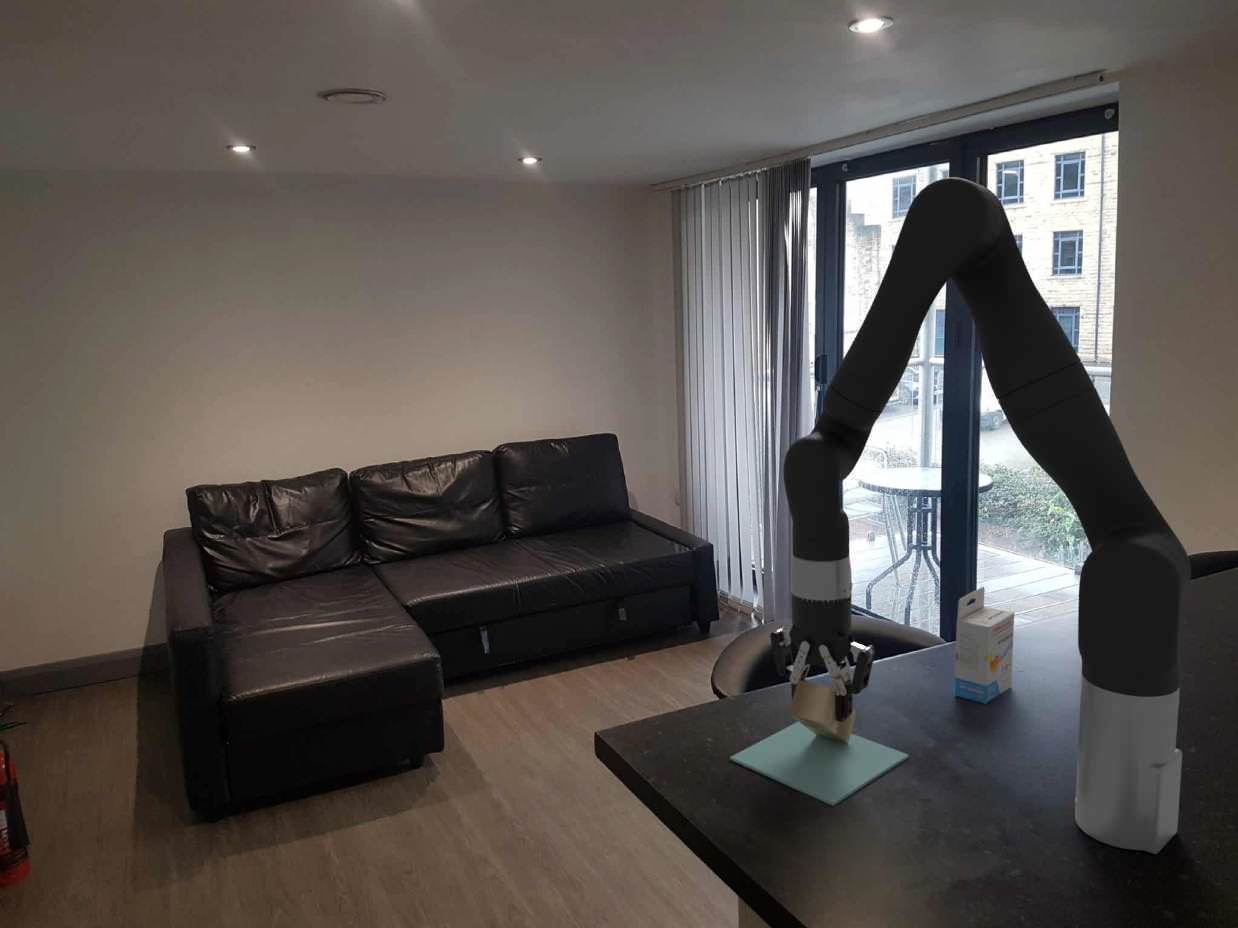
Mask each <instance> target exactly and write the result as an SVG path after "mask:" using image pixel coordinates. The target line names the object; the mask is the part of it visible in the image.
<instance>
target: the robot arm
mask: <svg viewBox="0 0 1238 928" xmlns="http://www.w3.org/2000/svg"><path fill="white" fill-rule="evenodd" d="M1008 218H1009V217H1008V215H1007V213H1006V210H1005V208H1004V205H1003V204H1002V202H1001V201H1000V200H999V198H998V196H997V195H996V194H994V192H993V191H992V190H990V189H989V188H987V187H985V186H984V185H981V184H979V183H977V182H974V181H972V180H968V179H965V178H962V177H956V176H955V177H943V178H940V179H936V180H935V181H932V182H931V183H929V184H927V185H926V186H925V187H923V188H922V189H921V190H920V191H919V192H918V193H917V194H916V196H915V197H914V198H913V200H912V201H911V203H910V206H909V208H908V211H907V212H906V215H905V218H904V220H903V223H902V226H901V229H900V230H899V234H898V237H897V240H896V242H895V244H894V245H895V246H894V248H893V252H892V254H891V257H890V260H889V262H888V265H887V267H886V270H885V272H884V275H883V277H882V280H881V282H880V285H879V287H878V288H877V291H876V293H875V296H874V299H873V301H872V302H871V305H870V307H869V310H868V311H867V313H866V316H865V318H864V320H863V322H862V324H861V326H860V328H859V330H858V332H857V333H856V336H855V337H854V339H853V340H852V342H851V345H850V346H849V348H848V350H847V352H846V353H845V355H844V357H843V359H842V360H841V363H840V364H839V366H838V368H837V370H836V371H835V373H834V375H833V376H832V379H831V380H830V383H829V384H828V386H827V388H826V390H825V393H824V395H823V399H822V406H823V409H822V411H821V413H820V416H819V418H818V420H817V422H816V423H815V426H814V427H813V429H812V431H811V432H809V434H808V435H805V436H803V437H801V438H799V439H797V440H795V441H794V442H793V443H792V444H791V445H790V447H789V448H788V450H787V451H786V455H785V456H784V464H783V483H784V489H785V494H786V500H787V504H788V508H789V513H790V517H791V521H792V529H791V530H792V532H791V533H792V535H791V536H792V537H791V539H792V540H791V541H792V556H791V557H792V560H791V566H790V614H791V616H790V617H791V618H790V620H791V623H792V625H791V627H790V629H787V628H786V627H784V626H781V627H779V628H777V629H776V630H774V631H772V632H771V633H770V635H769V637H770V643H771V647H772V653H773V657H774V662H775V666H776V667H775V668H776V671H777V674H778V675H779V676H780V677H786V678H787V679H788V680H789V682H790V684H791V700H792V699H793V696H794V693H795V689H796V686H797V683H798V680H801V681H805V682H808V679H806V677H807V675H808V673H809V670H810V667H811V666H819V667H821V668H823V669H827V672H828V675H829V677H830V679H831V680H833V682H834V685H835V688H836V691H837V695H836V720H837V721H839V722H844V721H845V720H846V719H847V718H848V717H849V716H850V715H851V714H852V707H853V695H858V694H860V693H861V692H862V691H863V690H864V689H866V688H867V687H868V685H869V681H870V676H871V674H872V673H871V672H872V668H873V664H874V659H875V654H876V648H875V647H874V645H872V644H869V645H867V646H865V645H863V644H859V643H858V642H855V639H854V637H853V634H852V631H851V629H852V609H853V607H852V606H853V605H852V597H853V596H852V595H853V594H852V591H853V582H852V580H853V579H852V566H851V559H850V522H849V521H850V520H849V516H848V514H847V513H846V511H844V509H842V508H841V499H840V483H841V482H843V481H844V480H846V479H847V478H848V477H849V475H850V474H851V473H852V472H853V470H854V468H856V466H857V463H858V462H859V460H860V458H861V456H862V455H863V452H864V450H865V447H866V445H867V443H868V440H869V438H870V435H871V434H872V429H873V427H874V425H875V423H876V421H878V419H879V418H880V416H881V414H882V413H883V410H884V409H885V408H886V407H887V405H888V403H889V401H890V399H891V397H892V396H893V394H894V392H895V391H896V389H897V388H898V385H899V383H900V382H901V380H902V378H903V376H904V373H905V371H906V369H907V367H908V365H909V362H910V360H911V356H912V354H913V352H914V348H915V346H916V343H917V340H918V336H919V334H920V330H921V327H922V325H923V323H924V321H925V319H926V316H927V314H928V312H929V311H930V308H931V307H932V305H933V304H934V301H935V299H936V298H937V296H938V295H939V293H940V292H941V290H942V289H943V287H944V286H945V284H946V283H947V282H948V281H949V279H951V281H952V282H953V284H954V286H955V288H956V290H958V292H959V295H960V296H961V298H962V299H963V300H964V303H965V304H966V306H967V308H968V311H969V313H970V316H971V317H972V320H973V324H974V326H975V330H976V335H977V339H978V344H979V349H980V351H981V355H982V356H981V358H982V361H983V364H984V365H983V366H984V369H985V372H986V376H987V379H988V382H989V384H990V387H991V390H992V392H993V395H994V396H995V399H996V400H997V402H998V404H999V406H1000V409H1001V410H1002V412H1003V414H1004V416H1005V418H1006V420H1007V422H1008V424H1009V425H1010V428H1011V429H1012V431H1013V433H1014V435H1015V436H1016V437H1017V439H1018V441H1019V442H1020V444H1021V445H1022V447H1023V448H1024V449H1025V450H1026V451H1027V453H1028V454H1029V455H1030V457H1031V458H1032V459H1033V460H1034V461H1035V462H1036V464H1038V466H1040V468H1041V469H1042V470H1043V471H1044V472H1045V473H1046V474H1047V475H1048V477H1050V478H1051V479H1052V480H1053V482H1054V483H1055V484H1056V486H1058V487H1059V488H1060V490H1061V491H1062V493H1063V494H1064V495H1065V496H1066V498H1067V500H1068V501H1069V503H1070V505H1071V506H1072V508H1073V510H1074V512H1075V513H1076V516H1077V519H1078V520H1079V522H1080V524H1081V526H1082V530H1083V531H1084V532H1083V533H1084V534H1085V537H1086V539H1087V542H1088V544H1089V547H1090V551H1091V552H1090V553H1089V554H1088V555H1087V557H1086V558H1085V560H1084V562H1083V564H1082V567H1081V570H1080V576H1079V584H1078V609H1077V610H1078V611H1077V612H1078V615H1077V616H1078V617H1077V645H1078V648H1077V649H1078V651H1079V655H1080V657H1081V679H1080V680H1081V681H1080V699H1079V700H1080V701H1079V721H1078V722H1079V723H1078V743H1077V744H1078V745H1077V761H1076V762H1077V763H1076V765H1077V767H1076V785H1075V786H1076V790H1075V800H1074V801H1075V802H1074V805H1075V811H1074V813H1075V814H1074V819H1075V823H1076V825H1077V826H1078V828H1079V829H1081V830H1082V832H1084V833H1085V834H1086V835H1087V836H1089V837H1091V838H1093V839H1095V840H1097V841H1098V842H1101V843H1104V844H1107V845H1109V846H1112V847H1117V848H1120V849H1125V850H1133V851H1134V850H1136V851H1144V852H1148V853H1151V854H1154V855H1157V854H1158V853H1159V852H1161V850H1162V849H1163V848H1164V847H1165V846H1166V845H1167V844H1168V843H1169V841H1170V840H1171V839H1172V838H1173V837H1174V836H1175V835H1176V834H1177V832H1178V825H1179V824H1178V823H1179V809H1180V808H1179V807H1180V794H1181V793H1180V790H1181V779H1182V766H1183V765H1182V763H1183V759H1182V758H1183V752H1182V750H1181V749H1178V748H1176V745H1177V734H1178V733H1177V732H1178V717H1179V715H1178V714H1179V704H1180V703H1179V702H1180V687H1181V676H1182V675H1181V674H1182V673H1181V672H1182V663H1181V661H1180V658H1179V654H1178V653H1179V652H1178V651H1179V650H1178V645H1179V644H1178V643H1179V627H1180V626H1179V625H1180V613H1181V612H1180V609H1181V601H1182V600H1181V599H1182V598H1183V597H1184V595H1185V592H1186V591H1187V590H1188V588H1189V585H1190V581H1191V578H1192V577H1191V575H1192V567H1191V562H1190V559H1189V556H1188V552H1187V551H1186V550H1185V547H1184V545H1183V544H1182V542H1181V541H1180V539H1179V538H1178V537H1177V535H1176V533H1175V532H1174V531H1173V529H1172V528H1171V526H1170V525H1169V523H1168V522H1167V520H1166V519H1165V518H1164V516H1163V515H1162V513H1161V511H1160V510H1159V509H1158V506H1156V504H1155V503H1154V501H1153V499H1152V498H1151V496H1150V495H1149V493H1148V492H1147V491H1146V489H1145V488H1144V486H1143V484H1142V483H1141V481H1140V479H1139V478H1138V476H1137V474H1136V472H1135V470H1134V468H1133V466H1132V463H1131V462H1130V460H1129V456H1128V454H1127V453H1126V450H1125V448H1124V446H1123V443H1122V441H1121V438H1120V437H1119V434H1118V431H1117V430H1116V428H1115V426H1114V424H1113V422H1112V420H1111V417H1110V416H1109V414H1108V411H1107V409H1106V408H1105V406H1104V403H1103V402H1102V398H1101V397H1100V395H1099V392H1098V390H1097V388H1096V387H1095V384H1094V383H1093V381H1092V379H1091V377H1090V375H1089V373H1088V371H1087V370H1086V367H1085V365H1084V363H1083V362H1082V359H1081V358H1080V356H1079V355H1078V353H1077V351H1076V349H1075V347H1074V346H1073V344H1072V343H1071V341H1070V339H1069V338H1068V335H1067V334H1066V333H1065V331H1064V329H1063V327H1062V326H1061V324H1060V322H1059V320H1058V319H1057V317H1056V316H1055V314H1054V312H1053V311H1052V310H1051V308H1050V306H1049V305H1048V303H1047V302H1046V300H1045V299H1044V298H1043V296H1042V295H1041V293H1040V291H1039V290H1038V288H1037V287H1036V285H1035V283H1034V280H1033V279H1032V277H1031V275H1030V272H1029V270H1028V268H1027V265H1026V262H1025V261H1024V257H1023V254H1022V253H1021V251H1020V250H1021V249H1020V247H1019V245H1018V243H1017V240H1016V238H1015V235H1014V233H1013V230H1012V229H1013V228H1012V227H1011V223H1010V222H1009V219H1008ZM791 644H793V646H794V647H795V649H796V650H797V655H796V658H795V660H794V659H793V654H792V649H791V646H790V645H791ZM850 652H851V653H852V655H853V662H854V663H855V668H854V672H853V676H852V674H851V665H850V662H849V659H848V654H849V653H850Z"/></svg>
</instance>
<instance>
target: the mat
mask: <svg viewBox="0 0 1238 928" xmlns="http://www.w3.org/2000/svg"><path fill="white" fill-rule="evenodd" d="M729 757H730V758H729V759H730V761H732V762H734V763H737V764H738V765H741V766H742V767H745V768H747V769H750V770H752V771H755V772H757V773H759V774H760V775H764V776H766V777H769V778H771V779H772V780H775V781H777V782H780V783H781V784H783V785H786V786H787V787H790V788H792V789H794V790H797V791H799V792H802V793H804V794H806V795H807V796H810V797H812V798H815V799H817V800H819V801H822V802H824V803H826V804H828V805H831V806H833V807H834V806H835V805H837V804H838V803H840V802H841V801H843V800H845V799H846V798H848V797H849V796H851V795H853V794H855V793H856V792H857V791H858V790H860V789H862V788H863V787H865V786H867V785H869V784H870V783H871V782H873V781H874V780H876V779H878V778H879V777H881V776H882V775H884V774H886V772H888V771H890V770H892V769H893V768H895V767H896V766H897V765H900V764H901V763H902V762H905V761H906V760H907V759H908V758H909V754H908V753H904V752H902V751H899V750H897V749H894V748H891V747H888V746H886V745H883V744H880V743H878V742H875V741H874V740H873V741H872V740H870V739H868V738H864V737H862V736H859V735H856V734H853V733H851V735H850V738H849V742H848V744H847V743H843V742H840V741H836V740H832V739H829V738H825V737H821V736H818V735H816V734H814V733H813V732H812V731H811V730H809V729H808V728H807V727H805V726H804V725H803V724H801V723H800V722H799V721H796V722H794V723H793V724H791V725H789V726H787V727H785V728H783V729H781V730H779V731H778V732H775V733H773V734H772V735H770V736H768V737H766V738H764V739H762V740H760V741H758V742H756V743H754V744H752V745H751V746H749V747H747V748H745V749H743V750H741V751H740V752H737V753H735V754H734V755H731V756H729Z"/></svg>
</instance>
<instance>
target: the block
mask: <svg viewBox="0 0 1238 928" xmlns="http://www.w3.org/2000/svg"><path fill="white" fill-rule="evenodd" d="M837 694H838V692H836V691H835V690H834V689H833V688H832V687H830V686H826V685H822V684H818V683H814V682H809V681H807V682H805V681H801V680H798V683H797V686H796V689H795V693H794V696H793V699H792V698H791V702H790V706H789V709H788V710H789V711H788V715H789V716H791V717H792V718H794V719H795V721H796V722H798V721H799V722H800V723H801V724H803V725H804V726H805V727H807V728H808V729H809V730H811V731H812V732H813V733H814V734H816V735H818V736H821V737H825V738H829V739H832V740H836V741H840V742H843V743H847V744H848V742H849V738H850V735H851V734H852V731H853V727H854V723H855V720H856V716H857V712H858V710H856V708H854V707H853V706H852V714H851V715H850V716H849V717H848V718H847V719H846V720H845V721H844V722H839V721H837V720H836V695H837Z"/></svg>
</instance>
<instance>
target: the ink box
mask: <svg viewBox="0 0 1238 928" xmlns="http://www.w3.org/2000/svg"><path fill="white" fill-rule="evenodd" d="M971 600H974V602H973V603H971V604H969V605H968V603H969V602H971ZM1014 629H1015V612H1014V611H1013V612H1012V611H1008V610H1004V609H998V608H993V607H990V606H986V605H985V587H984V586H981V587H980V588H978V589H976V590H973V591H971V592H970V593H968V594H966V595H964V596H963V597H961V598H959V599H958V603H957V619H956V632H955V634H956V636H955V640H956V642H955V644H956V645H955V669H954V670H955V672H954V675H955V678H954V679H955V680H954V681H955V682H954V696H955V697H958V698H963V699H965V700H966V699H967V700H969V701H973V702H976V703H979V704H980V703H981V704H984V705H986V704H988V703H989V702H991V701H992V700H994V699H996V697H998V696H999V695H1001V694H1003V693H1004V692H1006V691H1007V690H1009V689H1011V688H1012V680H1013V679H1012V678H1013V655H1014V654H1013V651H1014V650H1013V649H1014V633H1015V632H1014Z"/></svg>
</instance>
